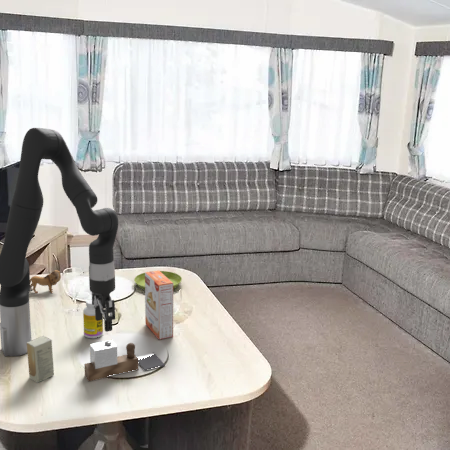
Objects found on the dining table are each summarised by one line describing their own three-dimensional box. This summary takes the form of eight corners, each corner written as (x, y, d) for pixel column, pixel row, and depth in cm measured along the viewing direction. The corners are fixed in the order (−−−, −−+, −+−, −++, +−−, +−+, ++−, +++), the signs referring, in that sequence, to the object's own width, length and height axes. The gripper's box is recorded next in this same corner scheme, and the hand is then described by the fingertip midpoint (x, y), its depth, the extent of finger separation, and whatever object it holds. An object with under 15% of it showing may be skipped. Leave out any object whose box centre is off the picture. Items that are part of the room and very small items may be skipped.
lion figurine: (61, 288, 250) (60, 268, 248) (61, 292, 245) (60, 272, 243) (25, 290, 247) (24, 269, 244) (24, 294, 242) (23, 274, 239)
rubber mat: (144, 370, 186) (144, 369, 186) (134, 358, 193) (134, 356, 193) (164, 366, 189) (164, 364, 189) (153, 354, 197) (153, 352, 197)
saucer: (164, 274, 272) (164, 267, 271) (191, 287, 256) (191, 281, 256) (125, 283, 259) (125, 276, 258) (150, 298, 244) (150, 291, 243)
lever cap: (95, 369, 178) (94, 349, 176) (90, 361, 182) (89, 342, 181) (117, 364, 182) (117, 344, 180) (112, 356, 186) (111, 337, 184)
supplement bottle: (98, 340, 205) (97, 306, 202) (80, 337, 206) (79, 303, 203) (106, 332, 212) (105, 298, 208) (88, 329, 213) (87, 296, 209)
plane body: (88, 381, 179) (87, 355, 176) (84, 375, 182) (83, 350, 180) (138, 369, 186) (138, 344, 184) (133, 364, 190) (133, 339, 187)
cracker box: (144, 324, 218) (144, 271, 213) (159, 322, 221) (159, 269, 216) (157, 340, 206) (157, 284, 201) (173, 337, 209) (174, 282, 204)
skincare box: (46, 370, 184) (44, 334, 181) (54, 375, 181) (52, 339, 178) (28, 378, 179) (25, 341, 176) (36, 383, 177) (34, 346, 173)
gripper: (82, 269, 179) (84, 318, 183) (97, 285, 167) (99, 337, 171) (106, 266, 182) (107, 314, 187) (122, 280, 170) (123, 332, 175)
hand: (103, 325), depth 179 cm, fingers open, 8 cm apart
